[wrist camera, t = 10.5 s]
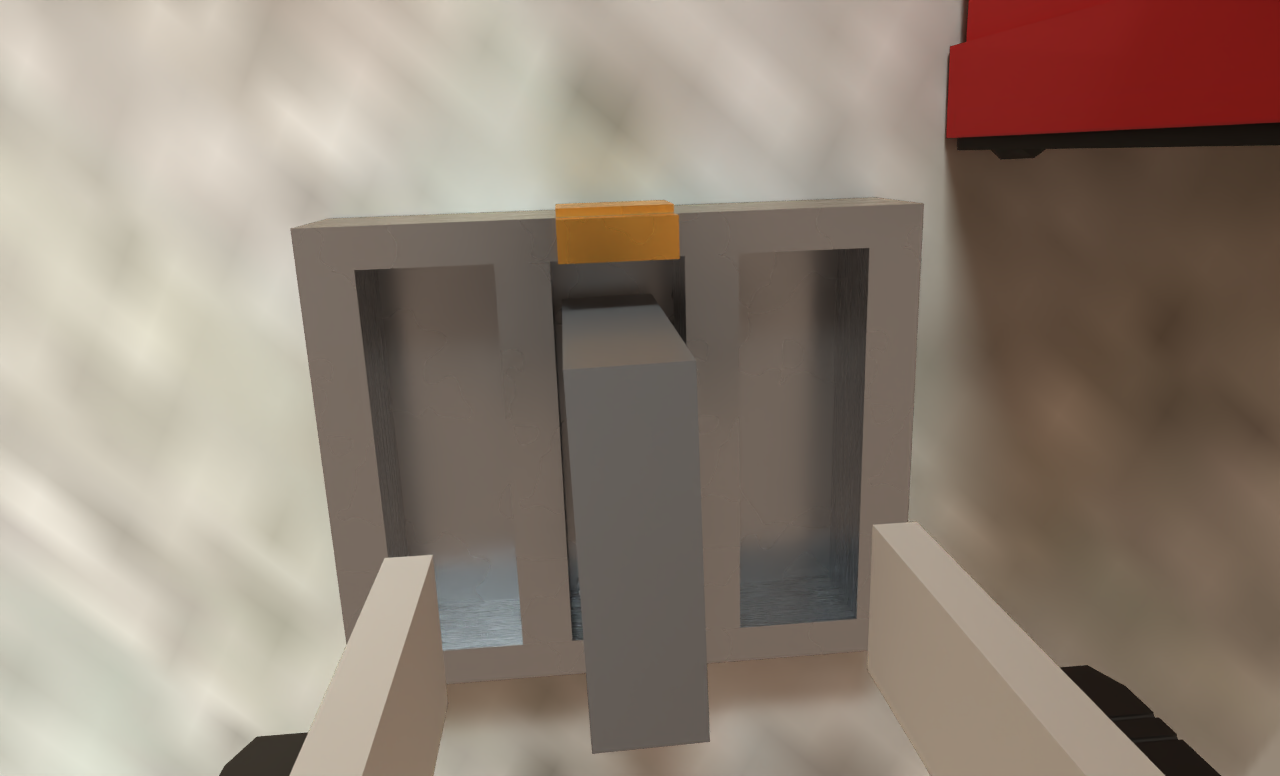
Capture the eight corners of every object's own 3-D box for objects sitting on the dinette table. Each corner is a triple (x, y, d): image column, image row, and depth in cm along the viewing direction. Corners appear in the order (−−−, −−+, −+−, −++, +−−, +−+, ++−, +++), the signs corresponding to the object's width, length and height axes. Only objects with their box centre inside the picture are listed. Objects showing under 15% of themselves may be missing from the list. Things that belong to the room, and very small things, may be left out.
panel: (561, 299, 23) (562, 370, 16) (651, 293, 23) (696, 360, 16) (582, 572, 25) (592, 753, 18) (664, 565, 26) (709, 741, 18)
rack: (326, 210, 23) (280, 221, 19) (876, 189, 24) (934, 195, 20) (378, 626, 26) (347, 705, 22) (861, 590, 27) (910, 659, 23)
